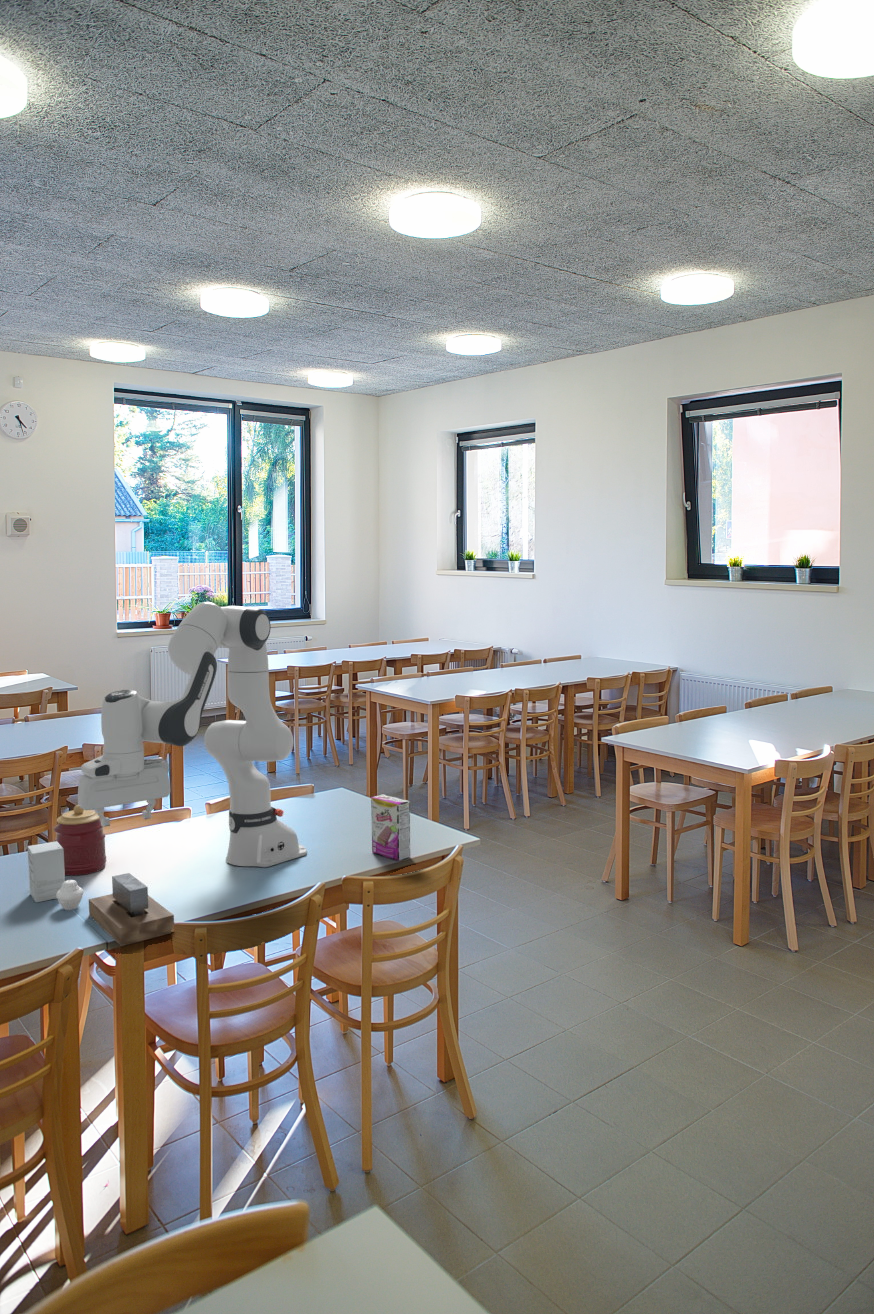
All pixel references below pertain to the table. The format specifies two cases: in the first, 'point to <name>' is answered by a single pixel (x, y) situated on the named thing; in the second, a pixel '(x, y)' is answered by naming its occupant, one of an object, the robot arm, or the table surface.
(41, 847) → the supplement box
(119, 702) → the robot arm
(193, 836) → the table surface
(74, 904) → the muffin
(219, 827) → the table surface
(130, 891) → the grey u-shaped block
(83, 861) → the canister
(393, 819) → the candy bar box
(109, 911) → the wooden socket board
